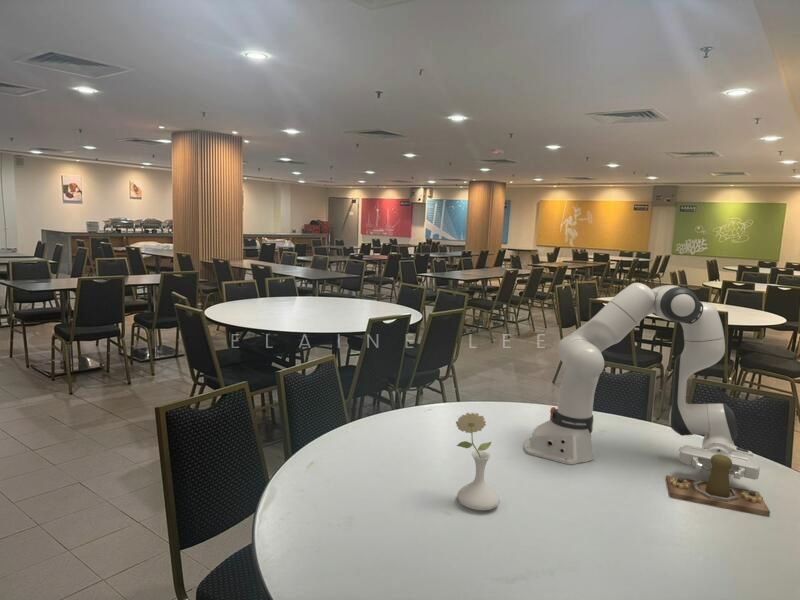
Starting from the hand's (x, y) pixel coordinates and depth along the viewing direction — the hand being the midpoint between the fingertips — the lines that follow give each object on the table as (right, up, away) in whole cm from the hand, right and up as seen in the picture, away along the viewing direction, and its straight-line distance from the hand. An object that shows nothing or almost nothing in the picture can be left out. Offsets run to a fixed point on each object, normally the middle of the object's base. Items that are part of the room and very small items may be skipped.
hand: (717, 471), depth 152 cm
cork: (+1, -7, +1) cm, 7 cm away
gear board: (0, -8, +2) cm, 8 cm away
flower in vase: (-70, -6, -7) cm, 70 cm away
